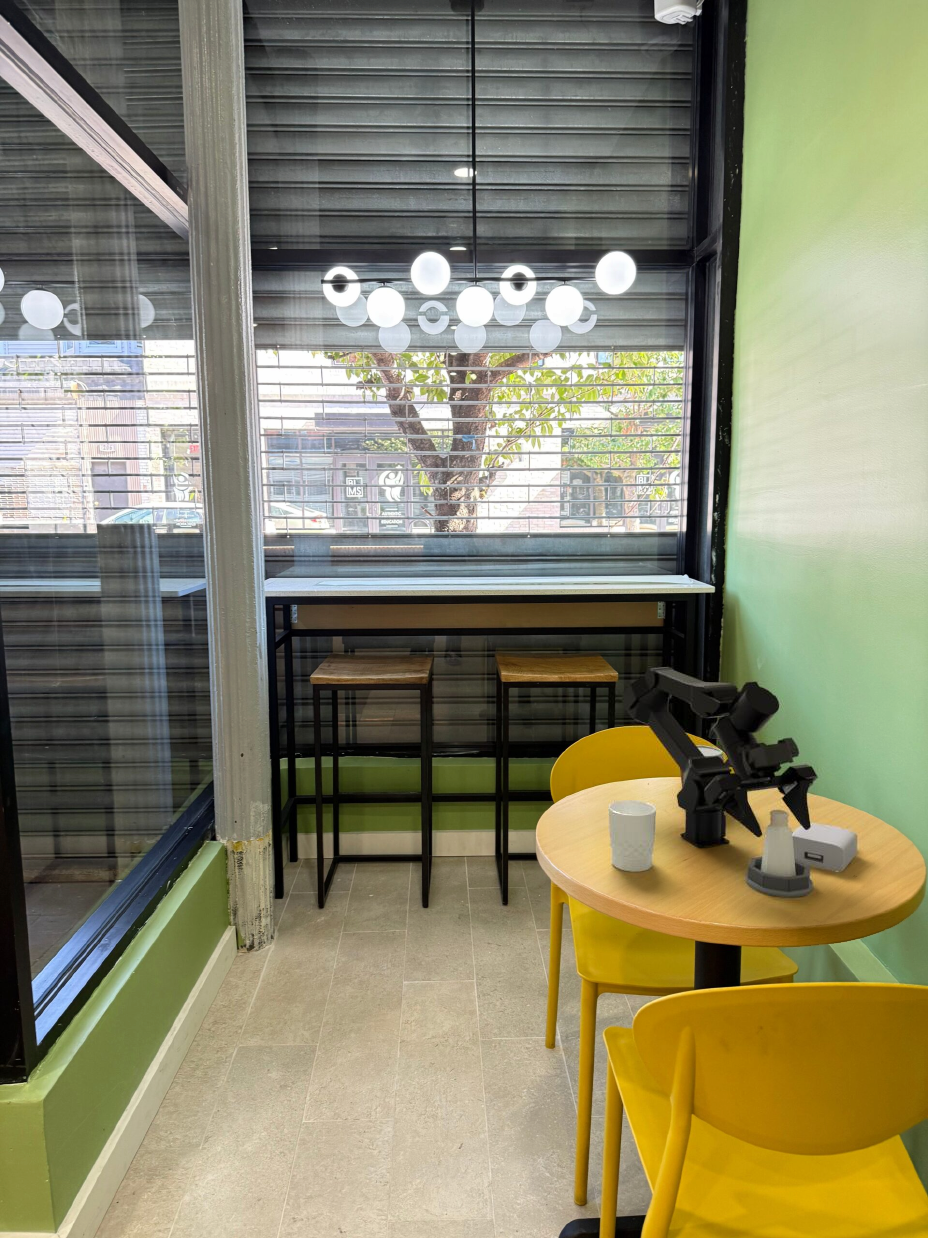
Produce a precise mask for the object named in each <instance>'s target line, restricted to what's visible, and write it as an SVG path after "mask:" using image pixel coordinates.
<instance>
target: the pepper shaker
mask: <svg viewBox="0 0 928 1238" xmlns="http://www.w3.org/2000/svg"><path fill="white" fill-rule="evenodd" d="M769 815H770V819H769V820H770V823H769V824H768V825H766V830H765V837H764V843H763V850H762V851H763V852H762V856H763V857H762V864H761V871H762V872H764V873H766V874H770V875H776V876H782V877H792V876H796V871H795V860H794V849H793V837H792V833H793V830H792V828H791V827H789V816H790V814H789V812H788V811H785V810H783V809H773V810H771V811H770V812H769Z"/></svg>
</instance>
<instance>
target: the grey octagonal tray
mask: <svg viewBox="0 0 928 1238" xmlns="http://www.w3.org/2000/svg"><path fill="white" fill-rule="evenodd" d="M762 857H763V855H761V856H755V857H751V858H750V860H749V862H748V865H747V871H746V873H745V882H746V884H747V885H748V886H749V887H750V888H751V889H753V890H755V891H756V892H759V893H762V894H764V895H769V896H771V897H772V896H773V897H777V898H791V899H792V898H801V897H805V896H807V895H809V894H811V893H812V892H813V891H814V889H813V888H814V886H813V885H814V883H813V880H812V879H811V866H809V865H805V864H803V863H801V862H799V861H797V860H795V859H794V860H795V871H796V876H792V877H782V876H776V875H770V874H766V873H764V872H762V871H761V864H762Z"/></svg>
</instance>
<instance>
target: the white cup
mask: <svg viewBox="0 0 928 1238" xmlns="http://www.w3.org/2000/svg"><path fill="white" fill-rule="evenodd" d="M656 817H657V808H656V806H654V805H653V804H652V803H648V802H645V801H640V800H630V799H629V800H628V799H627V800H618V801H614V802H612V803H609V805H608V820H609V821H608V823H609V839H610V841H609V842H610V848H611V864H612V865H613V866H614V867H615V868H616V869H619V870H621V871H625V872H634V873H636V872H644V871H648V870H649V869H651V868H652V866H653V865H652V864H653V852H654V850H655V849H654V845H655V835H656Z"/></svg>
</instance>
